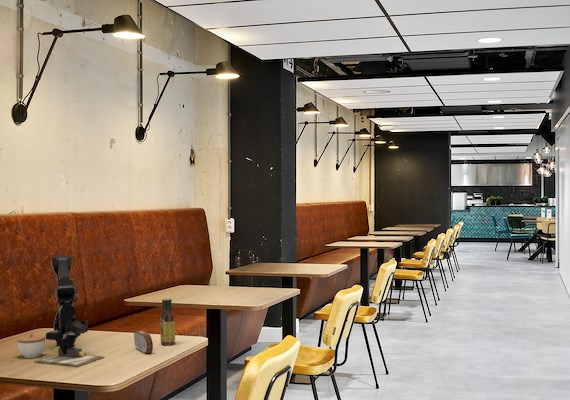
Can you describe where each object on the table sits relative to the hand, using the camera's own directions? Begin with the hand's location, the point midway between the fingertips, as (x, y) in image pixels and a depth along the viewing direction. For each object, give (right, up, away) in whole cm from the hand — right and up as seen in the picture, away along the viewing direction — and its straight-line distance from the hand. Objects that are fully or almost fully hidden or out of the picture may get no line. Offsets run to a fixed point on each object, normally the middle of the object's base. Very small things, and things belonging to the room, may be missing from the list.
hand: (67, 353), depth 301 cm
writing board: (+2, -2, -5) cm, 5 cm away
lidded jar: (-16, -2, +4) cm, 17 cm away
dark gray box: (0, -1, 0) cm, 1 cm away
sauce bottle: (+38, -1, +20) cm, 43 cm away
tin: (+29, -1, +8) cm, 30 cm away
